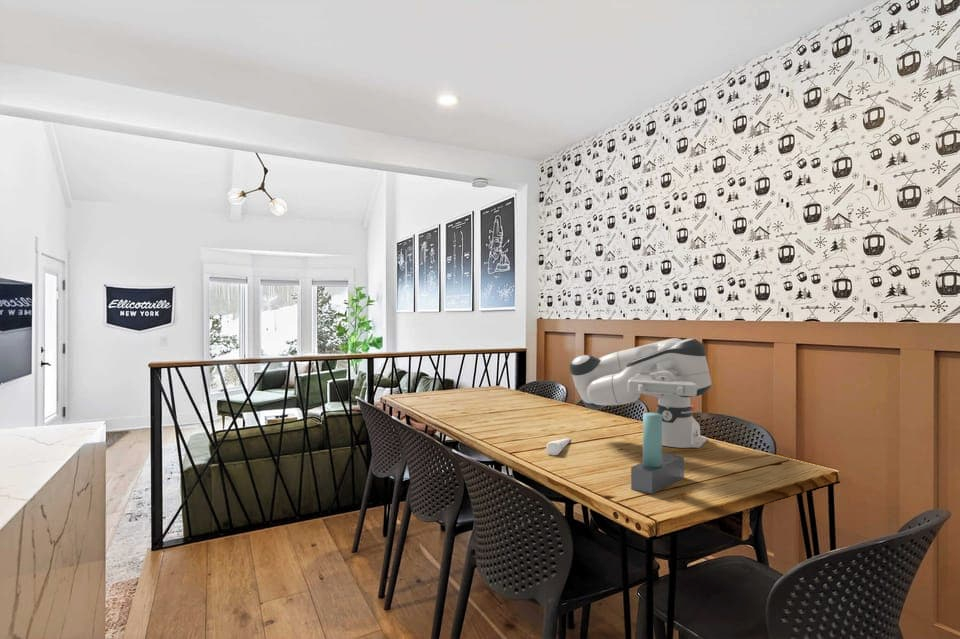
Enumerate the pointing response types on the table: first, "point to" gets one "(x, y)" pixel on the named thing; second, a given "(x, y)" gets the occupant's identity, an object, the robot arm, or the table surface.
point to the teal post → (652, 440)
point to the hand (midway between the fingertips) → (658, 390)
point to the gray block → (657, 474)
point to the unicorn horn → (556, 446)
